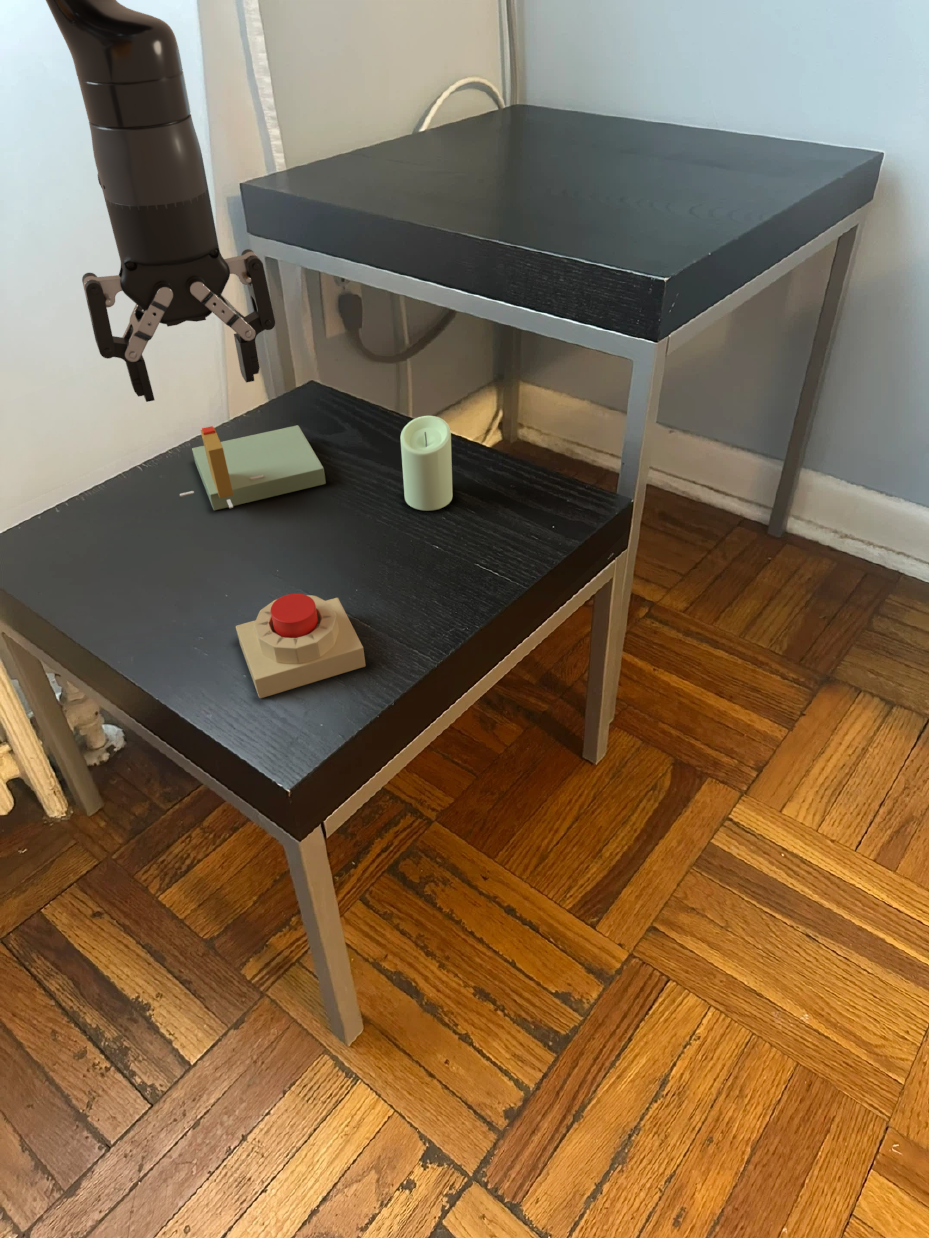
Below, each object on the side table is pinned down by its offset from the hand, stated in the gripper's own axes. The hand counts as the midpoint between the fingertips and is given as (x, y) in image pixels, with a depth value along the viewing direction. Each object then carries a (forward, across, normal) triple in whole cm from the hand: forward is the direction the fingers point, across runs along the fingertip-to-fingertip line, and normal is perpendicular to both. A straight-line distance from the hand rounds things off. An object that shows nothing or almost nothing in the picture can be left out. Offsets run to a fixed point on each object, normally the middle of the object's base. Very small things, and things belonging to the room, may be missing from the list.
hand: (199, 387), depth 76 cm
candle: (+16, +20, -2) cm, 26 cm away
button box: (+16, +1, -19) cm, 25 cm away
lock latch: (+14, +1, +7) cm, 16 cm away
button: (+13, +1, -19) cm, 23 cm away
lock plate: (+16, +4, +9) cm, 19 cm away
